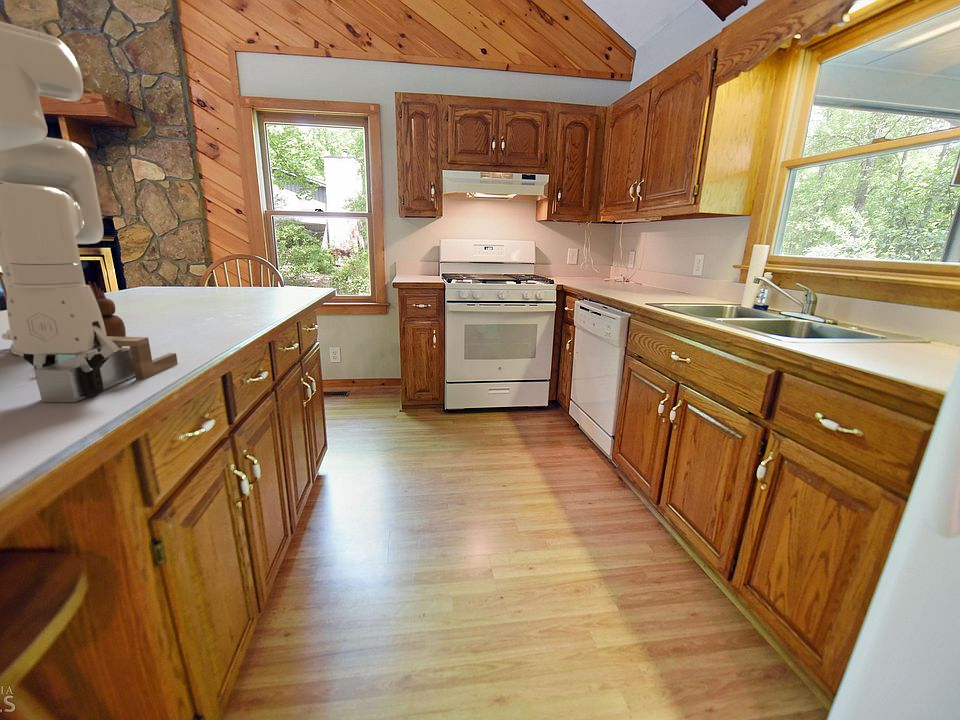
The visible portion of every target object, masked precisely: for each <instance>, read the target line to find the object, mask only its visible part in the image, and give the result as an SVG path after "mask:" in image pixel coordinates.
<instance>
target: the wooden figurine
mask: <svg viewBox="0 0 960 720" xmlns="http://www.w3.org/2000/svg"><path fill="white" fill-rule="evenodd" d="M87 285H89V286H90V288H91V290H92V292H93V294H94V296H95V298H96V301H97V303H98V306H99V309H100V312H101V315H102V319H103V322H104V326H105V330H106V335H107V336H110V337H127V335H126V334H127V332H126V325H125V322H124V321H123V319H122V318H121V317H120V316H118V315H115V312H116V304H115V303H114V300H112V299H110V298H107V297H106V295H105V292H104V290H101V288H100V287H97V284H96V282H93V285H92V283H91V281H90V280H89V281H87ZM118 347H119V348H124V346H118Z"/></svg>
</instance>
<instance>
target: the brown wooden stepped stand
mask: <svg viewBox="0 0 960 720" xmlns="http://www.w3.org/2000/svg"><path fill="white" fill-rule="evenodd" d="M108 337H109V338H110V339H111V340H112V341H113V342H114V343H115V344H116V345H117V346H123V347H129V348H130V350H131V356H132V361H133V366H134V372H135V380H146V379H147V377H148V378H150V377H152V376H154V375H156V374H159V373H160V372H163V371H166V370H168V369H170V368H172V367H174V366H177V365H178V364H179V363H178V357H177V353H176V352H173V353H172V352H170V353H166V354H163V355H162V356H159V357H156V358H154V359H153V357H152V351H151V346H150V340H149V337H148V336H126V337H110V336H108ZM96 349H97V350H100V349H101V348H96ZM145 378H146V379H145Z"/></svg>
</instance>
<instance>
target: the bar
mask: <svg viewBox="0 0 960 720" xmlns="http://www.w3.org/2000/svg"><path fill="white" fill-rule="evenodd" d="M97 351H98V353H99V352H100V351H101V349H100V350H97ZM86 355H87V357H88V359H89V360H90V357H89V355H88V354H86ZM33 371H34V375H35V379H36V383H37V387H38V391H39V395H40V399H41V402H42V403H77V402H79V401H82V400H84V399H86V398H87V397H85V396H84V395H83V390H82V386H81V381H80V377H79V373H80V372H83V370H82V368H81V367H80V365H79V363H78V361H77V359H76V357H74V358H71V359H68V360H65V361H62V362H59V363H55V364H52V365H49V366H46V367H43V368H39V369H36V370H34V369H33ZM100 372H101V376H102V381H103V388H104V389H103V391H104V390H105V391H106V389H109V388H112V387H114V386H116V385H119V384H120V383H123V382H125V381H127V379H128V380H130V379H132V378H134V376H135V372H134V366H133V361H132V356H131V350H130V347H122V348H119V350H118V351H117V352H116V353H115V354H113V355H112V356H110V357H109V359H108V360H107V361H106V362H105V363H104V366H103V367H101V368H100ZM118 383H119V384H118Z"/></svg>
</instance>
